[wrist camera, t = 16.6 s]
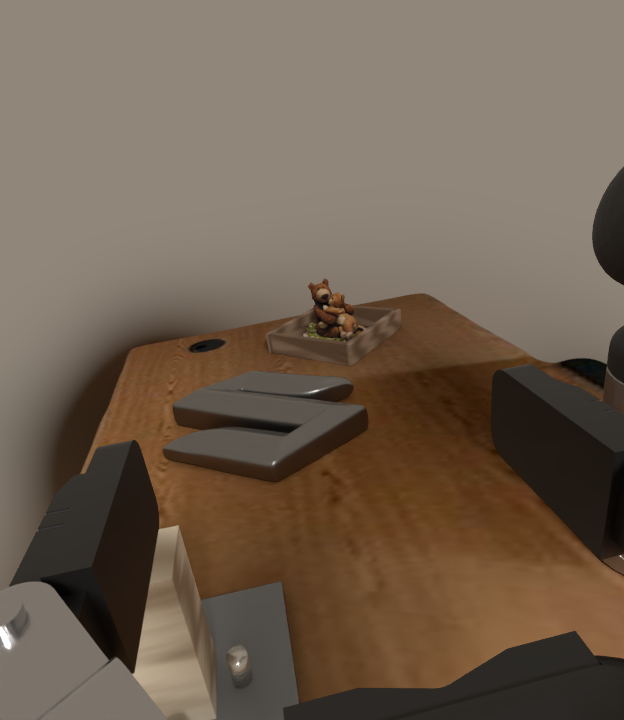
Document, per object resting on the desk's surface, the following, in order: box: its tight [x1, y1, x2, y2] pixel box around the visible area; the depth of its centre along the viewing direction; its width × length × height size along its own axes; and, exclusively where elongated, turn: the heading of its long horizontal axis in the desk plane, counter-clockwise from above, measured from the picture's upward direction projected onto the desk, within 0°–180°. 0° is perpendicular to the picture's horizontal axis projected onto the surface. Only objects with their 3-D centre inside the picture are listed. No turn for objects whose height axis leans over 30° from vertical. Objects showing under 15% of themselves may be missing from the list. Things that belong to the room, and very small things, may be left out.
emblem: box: [163, 371, 368, 482], centre depth 70 cm, size 28×5×28 cm
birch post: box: [132, 525, 217, 720], centre depth 33 cm, size 5×5×13 cm
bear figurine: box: [303, 279, 366, 342], centre depth 99 cm, size 14×15×12 cm
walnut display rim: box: [266, 305, 401, 366], centre depth 99 cm, size 20×19×4 cm
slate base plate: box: [201, 581, 300, 720], centre depth 35 cm, size 16×16×4 cm
